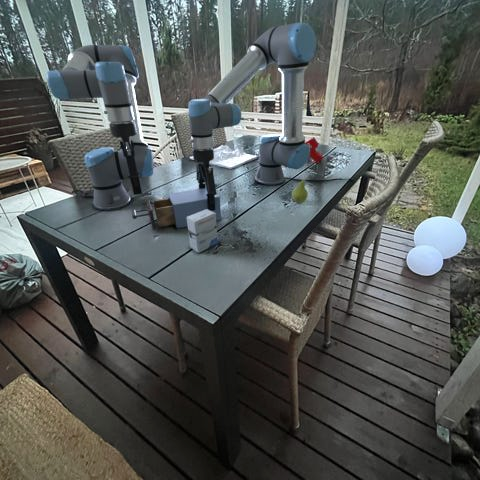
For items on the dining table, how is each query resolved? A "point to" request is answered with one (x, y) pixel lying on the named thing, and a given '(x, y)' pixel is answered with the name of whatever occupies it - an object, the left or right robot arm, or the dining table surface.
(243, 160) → the relief map
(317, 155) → the toy gun
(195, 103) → the right robot arm
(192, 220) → the ink box
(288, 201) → the dining table surface
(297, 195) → the fruit
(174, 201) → the cabinet
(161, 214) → the drawer
